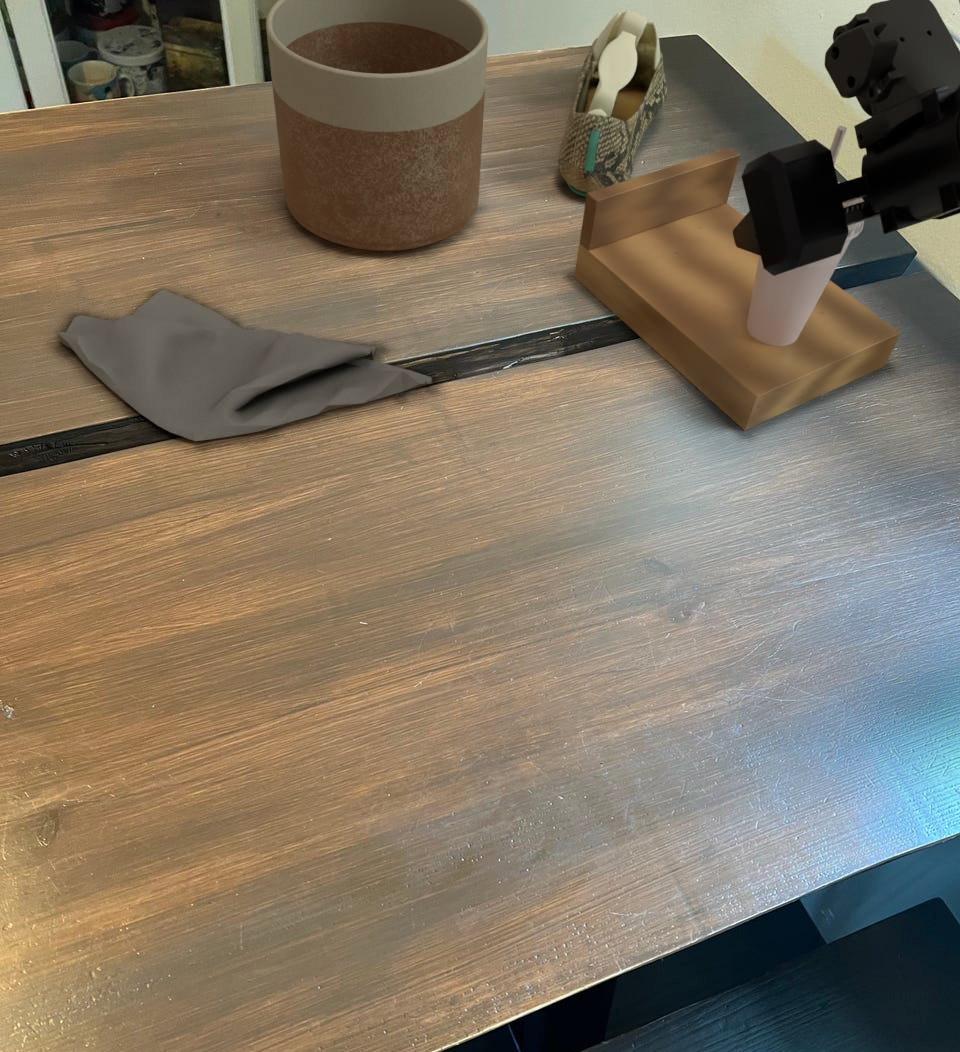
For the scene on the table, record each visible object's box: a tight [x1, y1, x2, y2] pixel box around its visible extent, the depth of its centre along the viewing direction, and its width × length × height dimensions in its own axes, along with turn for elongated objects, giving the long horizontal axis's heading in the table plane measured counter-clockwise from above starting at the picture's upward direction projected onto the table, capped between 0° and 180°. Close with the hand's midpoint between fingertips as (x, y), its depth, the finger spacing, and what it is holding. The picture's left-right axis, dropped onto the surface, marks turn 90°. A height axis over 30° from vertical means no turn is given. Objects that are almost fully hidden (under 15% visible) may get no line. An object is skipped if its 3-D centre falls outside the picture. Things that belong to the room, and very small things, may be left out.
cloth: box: [56, 289, 433, 442], centre depth 68 cm, size 26×14×2 cm, turn 71°
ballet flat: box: [557, 9, 668, 198], centre depth 87 cm, size 8×25×9 cm, turn 166°
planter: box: [265, 0, 489, 252], centre depth 77 cm, size 16×16×14 cm
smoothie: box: [747, 125, 866, 346], centre depth 65 cm, size 6×6×14 cm
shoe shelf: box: [573, 147, 901, 431], centre depth 73 cm, size 14×20×7 cm
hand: (790, 221), depth 65 cm, fingers open, 9 cm apart
